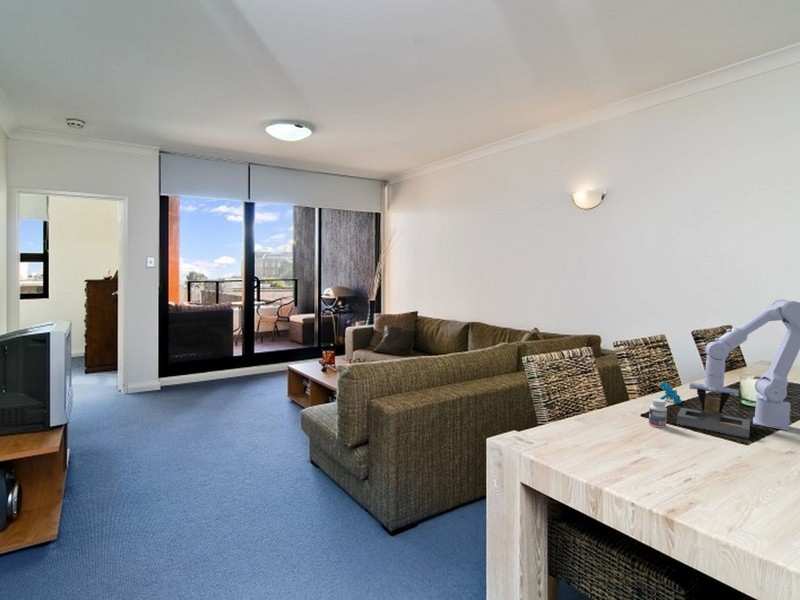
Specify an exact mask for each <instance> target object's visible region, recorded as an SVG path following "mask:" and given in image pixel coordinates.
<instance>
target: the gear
mask: <svg viewBox="0 0 800 600" xmlns="http://www.w3.org/2000/svg"><path fill="white" fill-rule="evenodd" d="M660 386H661V389H662V390H663V391H664V395H662V396H661V397H659V399H662V400H665V399H667V398H668V399H670V400H673V402H674V403H675V404H679V405H680V404H682V399H681V396H680V395H679V394H678V390H677V389H675V390H674V388H673V386H672V385H671V386H669V383H668V382H665V381H662V382H661V384H660Z"/></svg>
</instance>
